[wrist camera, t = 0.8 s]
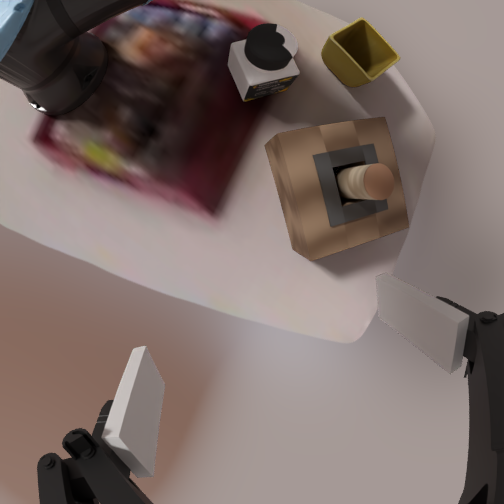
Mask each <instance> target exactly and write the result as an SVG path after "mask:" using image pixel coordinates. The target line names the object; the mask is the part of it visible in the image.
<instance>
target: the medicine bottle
mask: <svg viewBox="0 0 504 504" xmlns="http://www.w3.org/2000/svg"><path fill="white" fill-rule="evenodd" d="M297 49H298V43H297V40H296V38H295V36H294V35H293V34H292V33H291V32H290V31H289V30H288V29H286V28H284V27H282V26H280V25H277V24H261V25H258V26H256V27H254V28H253V29H252V30H251V31H250V32H249V34H248V36H247V39H246V40H242V41H238V42H234V43H232V44H231V47H230V53H229V59H228V67H229V70H230V72H231V74H232V76H233V79H234V81H235V83H236V86H237V88H238V90H239V93H240V95H241V97H242V100H243V101H244V102H246V101H249V100H252V99H256V98H259V97H263V96H267V95H270V94H274V93H278V92H282V91H286V90H287V89H288V87H289V86H290V85H291V84H292V82H293V81H294V80H295V79H296V77H297V76H298V75H299V73H300V72H299V70H298V67H297V65H296V63H295V61H294V59H293V57H294V56H295V54H296V52H297Z"/></svg>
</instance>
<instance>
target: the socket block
mask: <svg viewBox="0 0 504 504" xmlns="http://www.w3.org/2000/svg"><path fill="white" fill-rule="evenodd" d="M265 148H266V152H267V155H268V159H269V162H270V166H271V169H272V173H273V177H274V180H275V184H276V187H277V191H278V195H279V198H280V202H281V206H282V210H283V213H284V217H285V221H286V225H287V229H288V233H289V237H290V241H291V245H292V249H293V250H294V251H296V252H297V253H299V254H300V255H302V256H304V257H305V258H307V259H308V260H310V261H313V260H316V259H319V258H322V257H325V256H328V255H331V254H334V253H337V252H340V251H343V250H346V249H349V248H352V247H354V246H357V245H360V244H363V243H366V242H369V241H372V240H375V239H377V238H380V237H383V236H386V235H389V234H392V233H394V232H397V231H400V230H403V229H406V228H408V227H409V223H408V216H407V210H406V204H405V198H404V193H403V188H402V183H401V178H400V173H399V169H398V165H397V160H396V156H395V152H394V148H393V144H392V141H391V137H390V133H389V130H388V126H387V123H386V120H385V117H378V118H369V119H361V120H353V121H346V122H339V123H332V124H326V125H320V126H314V127H308V128H303V129H297V130H292V131H287V132H282V133H278V134H276V135H275V136H274V137H273V138H272V139H271V140H270V141H269V142H267V143H266V144H265ZM376 163H381V164H384V165H386V166H387V167H388V168H389V169H390V170H391V172H392V174H393V177H394V189H393V192H392V194H391V195H390V196H389V197H388V198H387V199H384V200H369V199H348V198H340V196H339V192H338V188H337V184H336V180H335V176H334V172H333V168H332V167H337V166H338V167H339V171H340V170H341V169H345V168H351V167H357V166H363V165H369V164H376Z"/></svg>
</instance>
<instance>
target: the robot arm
mask: <svg viewBox="0 0 504 504" xmlns="http://www.w3.org/2000/svg"><path fill="white" fill-rule="evenodd" d="M150 1H152V0H0V78H1V79H3V80H5V81H6V82H8V83H10V84H12V85H14V86H16V87H18V88H20V89H22V91H23V92H24V94H25V96H26V98H27V99H28V101H29V103H30V104H31V106H32V107H33V108H35V109H36V110H38V111H40V112H42V113H44V114H46V115H61V114H64V113H67V112H69V111H71V110H73V109H75V108H77V107H78V106H80V105H81V104H82V103H83V102H85V101H86V100H87V99H88V98H89V97H90V96H91V95H92V93H93V92H94V91H95V90H96V88H97V87H98V86H99V84H100V82H101V81H102V79H103V76H104V74H105V71H106V68H107V63H108V55H107V50H106V48H105V46H104V45H103V43H102V42H101V40H100V39H99V38H98V37H97V36H95V35H94V34H92V33H88V32H87V31H89V30H90V29H92V28H94V27H96V26H98V25H100V24H101V23H103V22H105V21H107V20H109V19H111V18H113V17H115V16H117V15H120V14H122V13H124V12H126V11H128V10H131V9H133V8H135V7H138V6H140V5H141V6H144V5H146V4H148V3H149V2H150ZM376 285H377V297H378V310H379V311H378V312H379V319H381V320H382V321H383V322H385V323H386V324H387V325H389V326H390V327H391V328H392V329H394V330H395V331H396V332H398V333H399V334H400V335H401V336H403V337H404V338H405V339H406V340H408V341H409V342H411V343H412V344H413V345H414V346H415V347H417V348H418V349H419V350H420V351H422V352H423V353H424V354H425V355H427V356H428V357H429V358H431V359H432V360H433V361H434V362H436V363H437V364H438V365H439V366H441V367H442V368H443V369H444V370H445V371H447V372H448V373H449V374H451V373H452V372H454V371H455V370H457V369H458V368H459V367H461V364H462V359H463V356H464V357H466V358H467V359H468V362H467V366H466V371H465V375H464V377H466V375H467V374H468V385H469V414H470V415H469V417H470V418H469V419H470V421H469V427H470V428H469V450H468V462H467V472H466V480H465V487H464V490H463V493H462V496H461V498H460V500H459V503H458V504H504V313H503V314H500V315H497V314H496V313H493V312H490V311H485V312H480V313H479V314H476V313H474V312H472V311H470V310H468V309H466V308H464V307H462V306H459V305H458V304H457V303H453V301H450V300H449V299H447V298H443V297H438V296H437V297H433V296H432V295H430V294H428V293H426V292H424V291H422V290H420V289H418V288H416V287H414V286H412V285H410V284H408V283H406V282H404V281H402V280H400V279H398V278H396V277H394V276H392V275H390V274H388V273H384V274H381V275H379V276H376ZM164 389H165V383H164V381H163V380H162V378H161V376H160V374H159V372H158V370H157V368H156V366H155V364H154V362H153V360H152V358H151V355H150V354H149V351H148V349H147V347H146V346H142V347H138V348H134V349H133V351H132V353H131V356H130V358H129V361H128V364H127V366H126V369H125V371H124V374H123V377H122V379H121V382H120V385H119V388H118V390H117V393H116V396H115V399H114V400H109V401H107V403H106V404H105V405H104V406H103V407H102V409H101V412H100V414H99V417H98V420H97V423H96V425H95V428H94V431H93V433H92V436H91V435H90V434H89V433H88V431H86V430H85V429H82V428H79V429H75V430H72V431H70V432H69V433H68V434H67V435H66V436H65V437H64V439H63V442H62V445H63V448H64V449H65V450H66V451H67V452H68V453H69V454H70V456H71V457H72V458H68V459H64V460H62V459H61V458H60V457H59V456H58V455H57V454H56V453H48V454H46V455H44V456H43V457H41V458H40V460H39V462H38V466H37V472H38V487H39V499H40V504H99V502H100V504H153V503H152V502H151V501H150V500H149V499H148V498H147V497H146V495H145V494H144V493H143V492H142V491H141V490H140V489H139V487H138V486H137V485H136V484H135V483H134V482H133V481H132V480H131V479H130V478H129V476H130V470H131V471H132V473H133V474H135V476H136V477H137V478H139V477H154V468H155V458H156V449H157V439H158V431H159V424H160V416H161V409H162V402H163V396H164Z"/></svg>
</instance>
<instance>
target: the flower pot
mask: <svg viewBox="0 0 504 504" xmlns="http://www.w3.org/2000/svg"><path fill="white" fill-rule="evenodd" d="M321 56H322V59H323V62H324V63H325V65H326V66H327V67H328V68H329V69H330V70H331V71H332V72H333V73H334V74H335V75H336V76H337V77H338V78H339V80H340V81H341V82H342V83H343V84H345V85H347V86H349V87H358V86H361V85H364V84H366V83H369V82H371V81H374V80H375V79H376V78H377V77H379V76H380V75H381V74H382V73H383V72H385V71H386V70H387V69H388V68H390V67H391V66H392V65H394V64H395V63H396V62H398V61H399V60H400V57H399V55H398V54H397V52H396V51H395V50H394V49H393V48H392V47H391V46H390V45H389V43H388V42H386V40H385V39H384V38H383V37H382V36H381V35H380V34H379V33H378V32H377V31H376V29H375V28H374V27H373V26H372V25H371V24H370V23H369V22H368V21H367V20H365V19H364V18H359V19H357V20H356V21H354V22H353V23H351V24H349V25H347V26H346V27H344V28H342V29H340V30H338V31H336V32H335V33H333V34H331V35H330V36H329V38H328V39H327V41H326V43H325V45H324V47H323V49H322V52H321Z"/></svg>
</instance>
